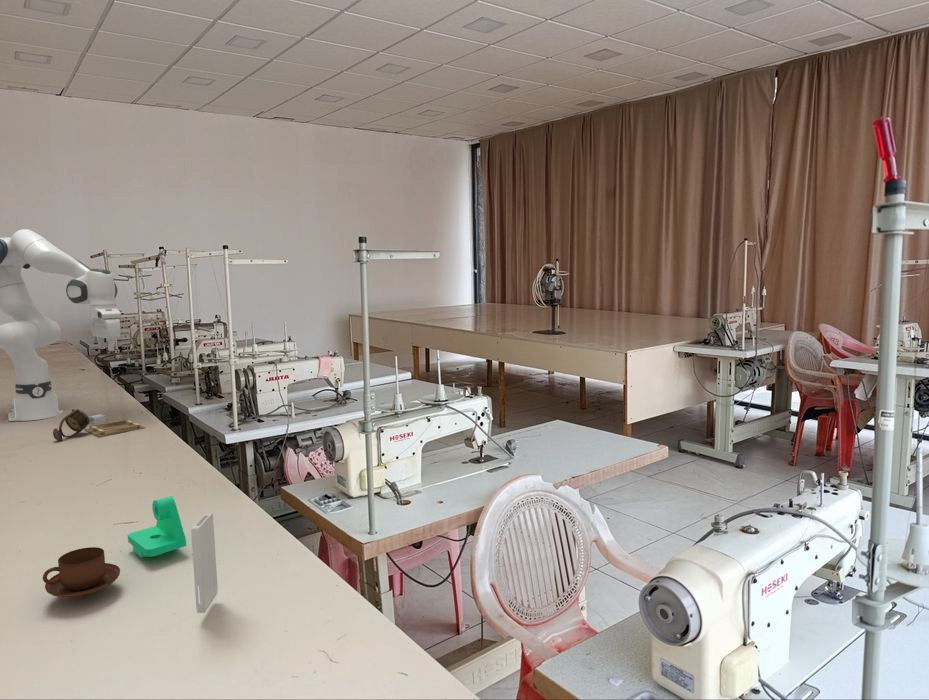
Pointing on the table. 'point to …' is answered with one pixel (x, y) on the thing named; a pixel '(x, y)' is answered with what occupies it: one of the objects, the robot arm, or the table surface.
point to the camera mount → (160, 531)
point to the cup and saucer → (81, 573)
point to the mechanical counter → (72, 423)
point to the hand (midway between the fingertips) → (106, 349)
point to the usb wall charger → (98, 419)
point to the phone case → (204, 562)
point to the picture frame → (113, 428)
